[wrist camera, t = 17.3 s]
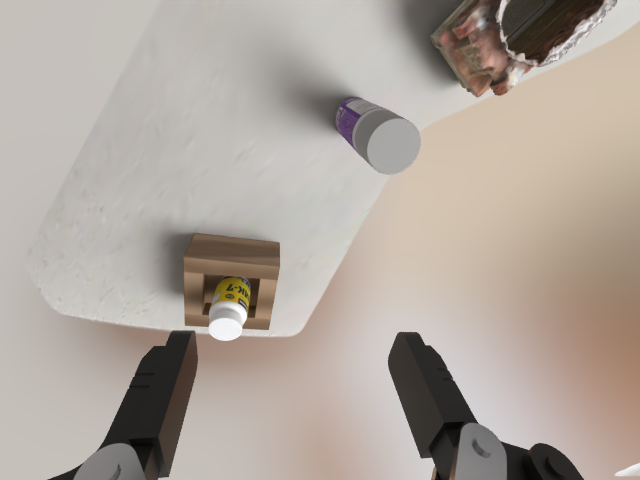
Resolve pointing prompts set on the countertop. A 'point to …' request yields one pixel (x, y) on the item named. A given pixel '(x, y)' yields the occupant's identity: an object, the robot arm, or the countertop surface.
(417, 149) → the container
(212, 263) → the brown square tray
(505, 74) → the decorative box
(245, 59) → the countertop surface
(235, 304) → the supplement bottle
